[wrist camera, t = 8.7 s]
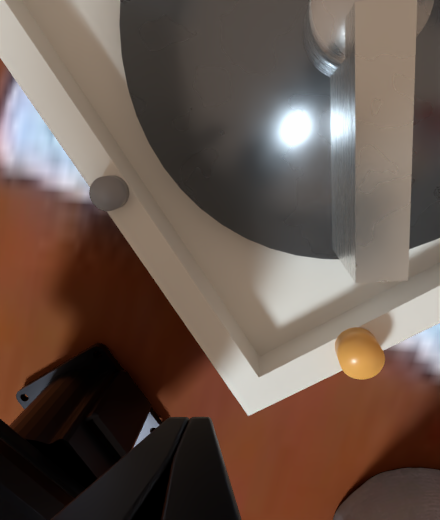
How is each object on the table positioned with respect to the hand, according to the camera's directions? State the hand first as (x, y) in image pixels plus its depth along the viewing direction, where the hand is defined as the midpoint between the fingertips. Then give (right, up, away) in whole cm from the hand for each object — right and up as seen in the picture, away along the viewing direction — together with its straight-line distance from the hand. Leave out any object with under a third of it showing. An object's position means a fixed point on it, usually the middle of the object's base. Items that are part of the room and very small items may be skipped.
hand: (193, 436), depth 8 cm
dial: (+6, +12, +8) cm, 16 cm away
